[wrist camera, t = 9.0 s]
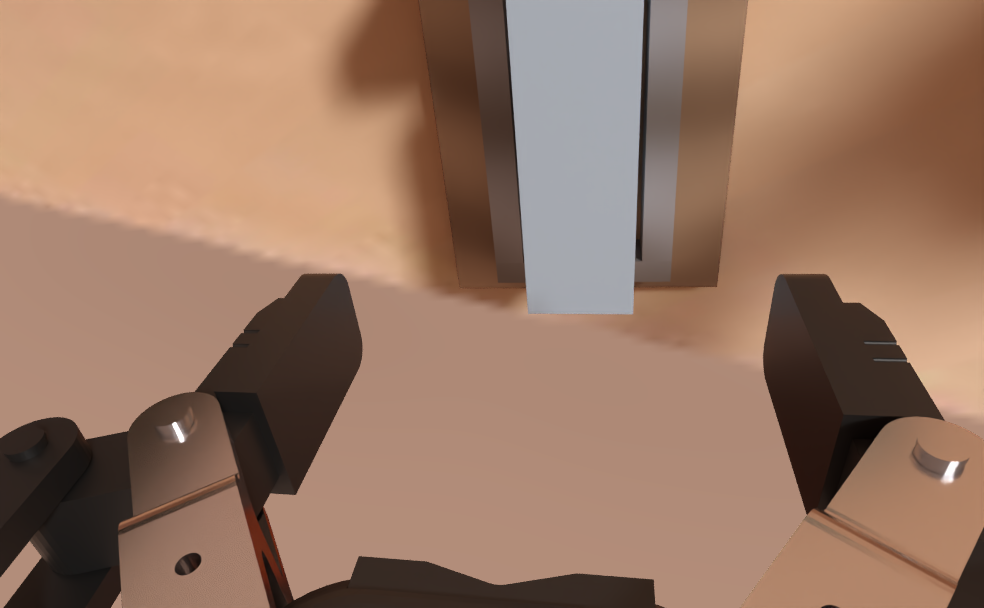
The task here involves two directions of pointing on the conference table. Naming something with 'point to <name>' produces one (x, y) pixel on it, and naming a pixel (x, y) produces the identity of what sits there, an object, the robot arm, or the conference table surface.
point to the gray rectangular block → (577, 149)
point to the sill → (662, 137)
